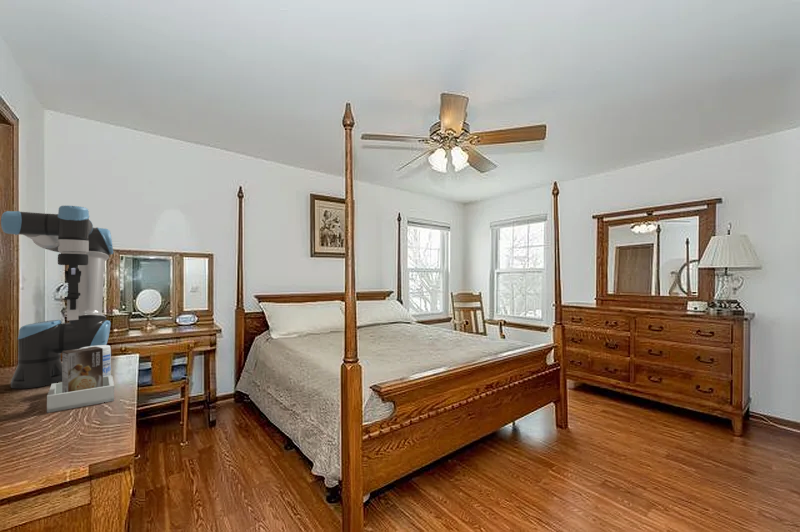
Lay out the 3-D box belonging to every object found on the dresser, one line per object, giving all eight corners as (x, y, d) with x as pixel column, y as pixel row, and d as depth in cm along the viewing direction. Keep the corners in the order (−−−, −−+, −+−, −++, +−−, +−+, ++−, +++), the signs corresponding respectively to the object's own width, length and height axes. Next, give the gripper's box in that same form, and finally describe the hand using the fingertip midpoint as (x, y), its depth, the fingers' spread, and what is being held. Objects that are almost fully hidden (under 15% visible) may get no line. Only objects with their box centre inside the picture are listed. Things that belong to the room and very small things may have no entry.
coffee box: (96, 392, 125) (97, 345, 126) (103, 396, 122) (104, 348, 122) (61, 400, 118) (61, 350, 118) (67, 404, 114) (68, 353, 114)
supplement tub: (108, 388, 133) (109, 348, 133) (74, 393, 128) (75, 351, 128) (111, 381, 141) (112, 343, 141) (79, 385, 136) (80, 346, 136)
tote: (51, 398, 122) (51, 383, 122) (112, 388, 132) (112, 375, 132) (46, 412, 110) (47, 396, 110) (114, 400, 120) (114, 385, 120)
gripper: (58, 253, 126) (58, 314, 127) (56, 252, 108) (55, 323, 108) (87, 254, 132) (86, 312, 132) (89, 252, 113) (88, 321, 113)
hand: (72, 317), depth 120 cm, fingers open, 13 cm apart
